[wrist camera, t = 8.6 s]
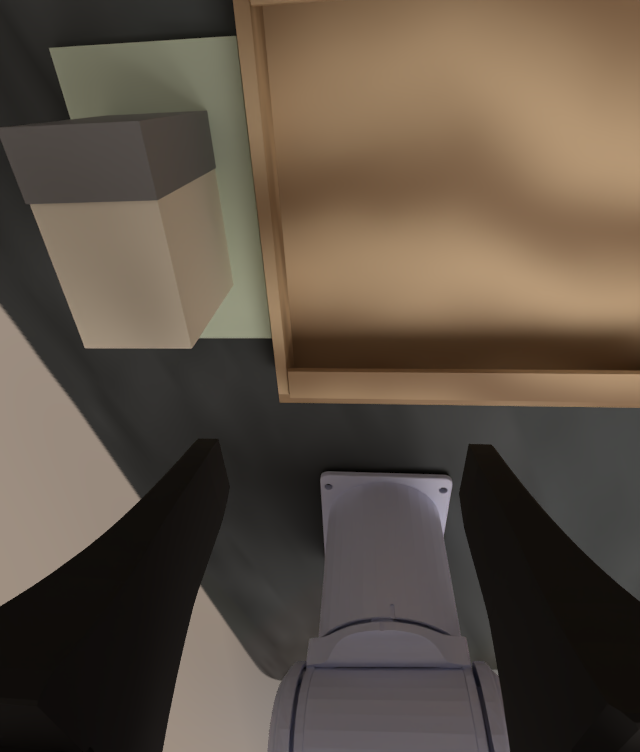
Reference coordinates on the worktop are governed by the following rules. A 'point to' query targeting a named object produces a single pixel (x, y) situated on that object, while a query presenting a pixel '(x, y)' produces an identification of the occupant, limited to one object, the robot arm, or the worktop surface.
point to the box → (128, 222)
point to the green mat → (228, 132)
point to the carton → (448, 198)
